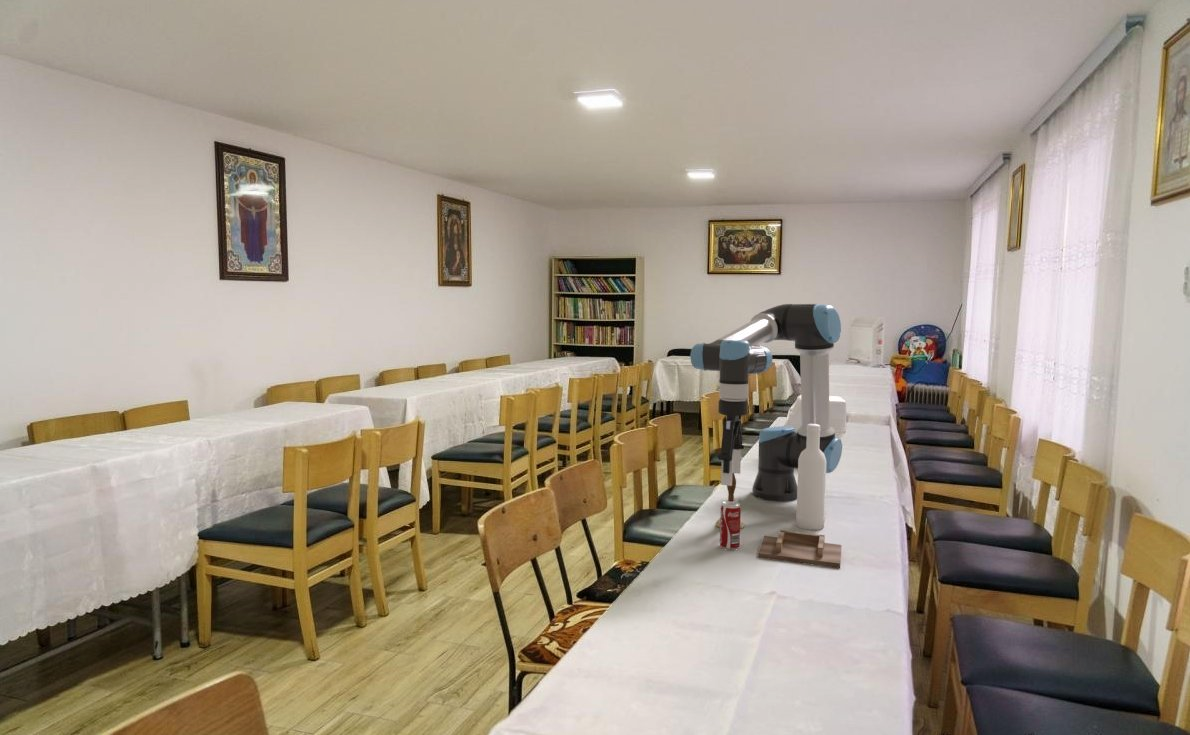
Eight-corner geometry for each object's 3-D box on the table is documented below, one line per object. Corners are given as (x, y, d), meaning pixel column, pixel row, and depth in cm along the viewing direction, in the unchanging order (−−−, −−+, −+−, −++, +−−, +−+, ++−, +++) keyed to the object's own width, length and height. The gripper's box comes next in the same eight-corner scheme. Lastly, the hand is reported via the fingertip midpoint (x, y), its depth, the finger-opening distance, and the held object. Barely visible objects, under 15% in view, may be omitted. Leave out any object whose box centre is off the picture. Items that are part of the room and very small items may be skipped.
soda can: (717, 543, 190) (718, 500, 189) (736, 543, 190) (737, 500, 189) (722, 550, 185) (723, 506, 183) (742, 550, 185) (743, 506, 184)
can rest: (764, 539, 193) (764, 526, 193) (841, 549, 186) (841, 535, 186) (757, 557, 180) (758, 543, 180) (840, 568, 173) (840, 553, 173)
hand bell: (747, 523, 207) (748, 470, 206) (740, 531, 200) (742, 477, 198) (719, 519, 211) (720, 467, 209) (712, 527, 203) (713, 473, 202)
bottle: (825, 531, 200) (829, 427, 197) (797, 529, 202) (800, 426, 199) (822, 522, 208) (826, 422, 205) (794, 520, 210) (798, 421, 207)
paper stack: (843, 467, 276) (846, 402, 273) (773, 460, 286) (775, 398, 284) (846, 456, 295) (849, 395, 293) (781, 450, 306) (783, 392, 303)
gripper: (727, 392, 196) (725, 467, 198) (709, 404, 173) (707, 488, 175) (754, 394, 194) (751, 469, 196) (740, 406, 170) (737, 492, 172)
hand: (730, 478), depth 185 cm, fingers open, 13 cm apart
